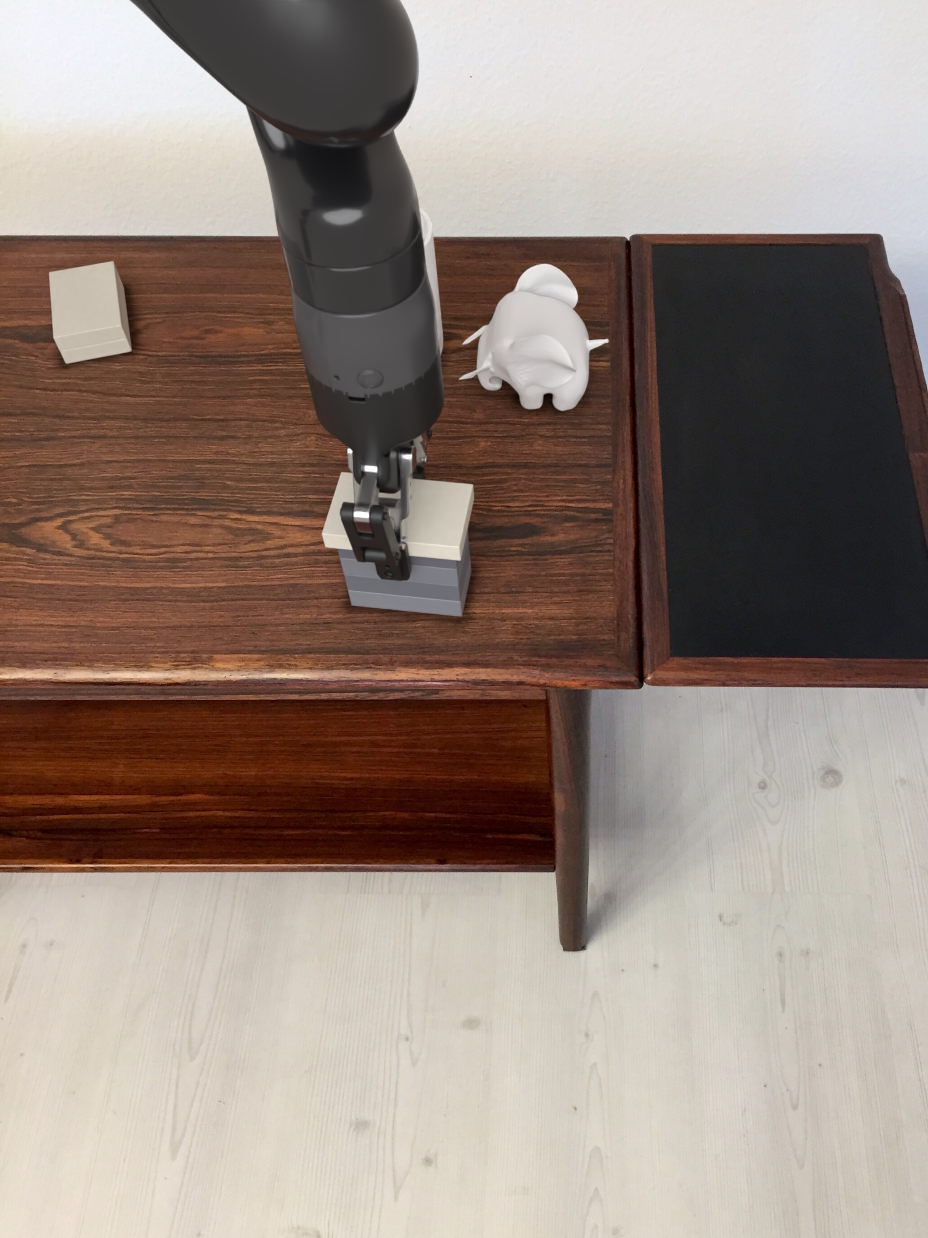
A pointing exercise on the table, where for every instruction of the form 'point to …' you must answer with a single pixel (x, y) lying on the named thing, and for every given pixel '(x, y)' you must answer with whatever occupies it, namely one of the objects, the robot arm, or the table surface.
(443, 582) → the grey rectangular block
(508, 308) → the elephant figurine
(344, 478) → the off-white rectangular slab
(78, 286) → the cream rectangular box
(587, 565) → the table surface
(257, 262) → the table surface
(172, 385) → the table surface
